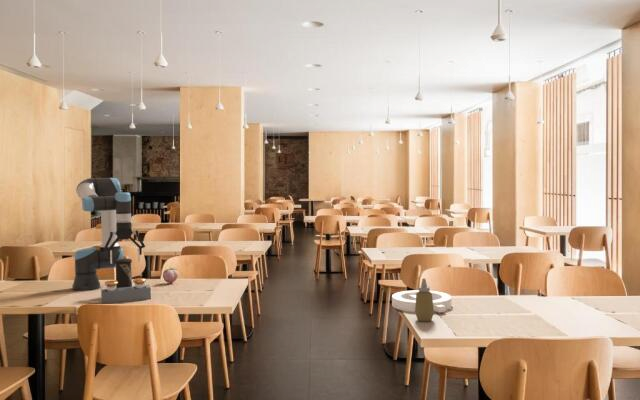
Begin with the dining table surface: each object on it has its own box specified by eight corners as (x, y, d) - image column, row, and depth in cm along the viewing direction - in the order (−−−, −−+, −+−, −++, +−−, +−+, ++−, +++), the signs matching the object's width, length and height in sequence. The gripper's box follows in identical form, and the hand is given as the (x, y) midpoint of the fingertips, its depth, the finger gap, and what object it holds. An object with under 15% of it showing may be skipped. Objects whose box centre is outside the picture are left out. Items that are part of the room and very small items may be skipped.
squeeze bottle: (419, 317, 238) (419, 276, 237) (437, 319, 233) (436, 278, 232) (411, 321, 231) (411, 279, 230) (429, 323, 226) (429, 281, 226)
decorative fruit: (172, 281, 334) (171, 265, 334) (180, 282, 329) (180, 266, 329) (159, 284, 327) (159, 267, 326) (168, 285, 322) (167, 268, 321)
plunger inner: (105, 297, 277) (104, 283, 277) (105, 295, 283) (104, 281, 282) (118, 296, 279) (118, 282, 279) (118, 293, 285) (117, 280, 285)
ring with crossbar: (444, 315, 241) (444, 304, 241) (384, 310, 253) (384, 300, 253) (456, 302, 266) (456, 292, 266) (401, 297, 278) (401, 288, 278)
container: (127, 296, 292) (126, 259, 291) (112, 296, 294) (111, 259, 293) (136, 293, 300) (134, 257, 299) (121, 293, 302) (120, 257, 301)
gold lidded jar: (134, 294, 282) (133, 280, 282) (133, 292, 288) (132, 279, 288) (147, 293, 285) (146, 279, 285) (145, 291, 291) (145, 277, 290)
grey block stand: (101, 303, 275) (101, 292, 275) (101, 300, 283) (101, 289, 283) (150, 299, 285) (150, 287, 285) (149, 296, 292) (148, 285, 292)
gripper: (98, 223, 274) (99, 265, 275) (149, 221, 284) (150, 261, 285) (97, 222, 281) (99, 263, 281) (147, 220, 291) (149, 259, 291)
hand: (125, 262), depth 283 cm, fingers open, 13 cm apart
